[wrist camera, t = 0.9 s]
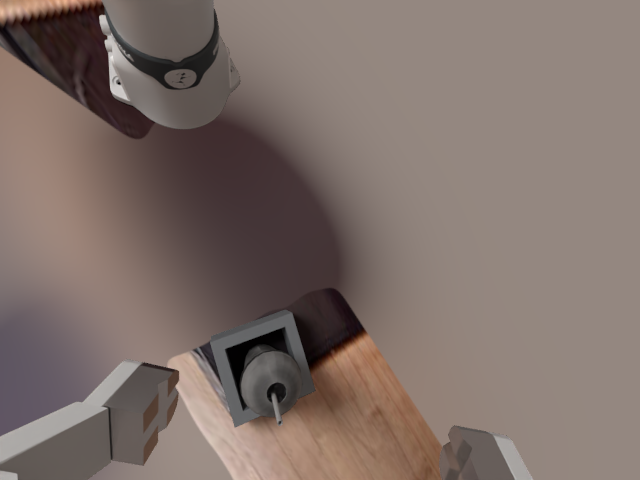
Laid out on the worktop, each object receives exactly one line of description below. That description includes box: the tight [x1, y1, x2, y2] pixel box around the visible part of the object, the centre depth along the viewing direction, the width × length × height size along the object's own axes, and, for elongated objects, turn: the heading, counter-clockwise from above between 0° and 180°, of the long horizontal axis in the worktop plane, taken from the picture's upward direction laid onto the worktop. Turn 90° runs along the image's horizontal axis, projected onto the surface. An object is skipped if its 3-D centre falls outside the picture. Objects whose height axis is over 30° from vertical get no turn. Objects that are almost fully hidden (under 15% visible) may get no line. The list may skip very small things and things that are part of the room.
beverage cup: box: [240, 344, 302, 426], centre depth 39 cm, size 7×7×20 cm
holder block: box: [210, 310, 316, 427], centre depth 46 cm, size 12×12×5 cm
